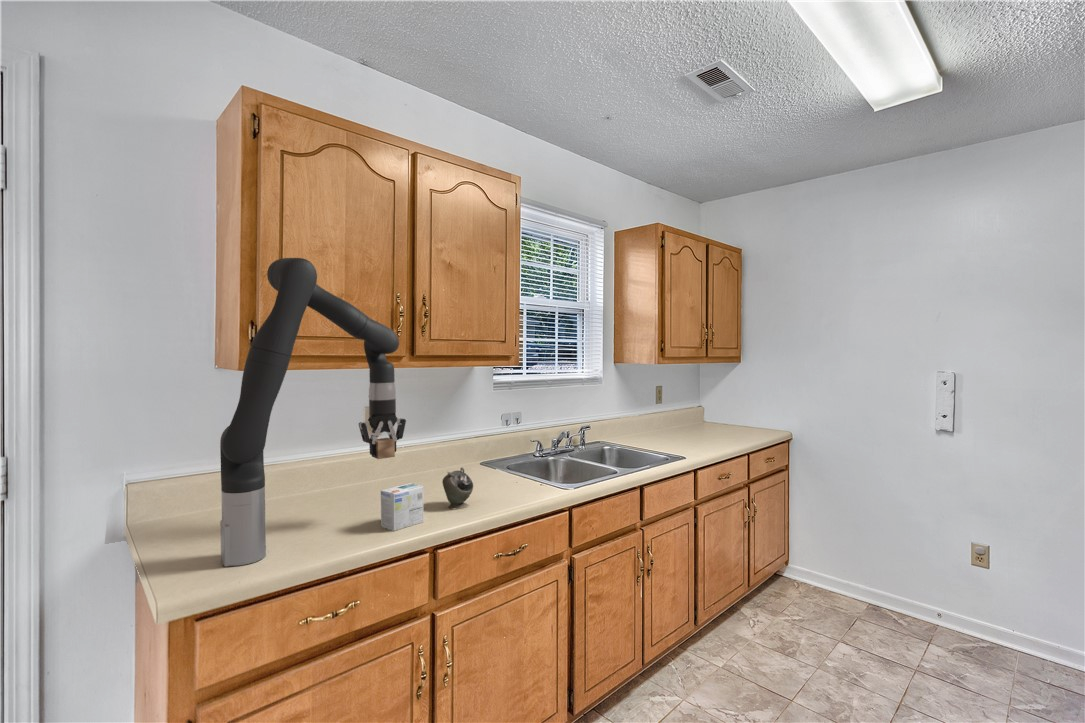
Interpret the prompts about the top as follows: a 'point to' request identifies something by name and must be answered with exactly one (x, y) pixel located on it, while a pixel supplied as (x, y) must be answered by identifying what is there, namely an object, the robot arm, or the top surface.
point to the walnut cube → (385, 448)
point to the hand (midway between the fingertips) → (383, 454)
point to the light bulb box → (401, 506)
